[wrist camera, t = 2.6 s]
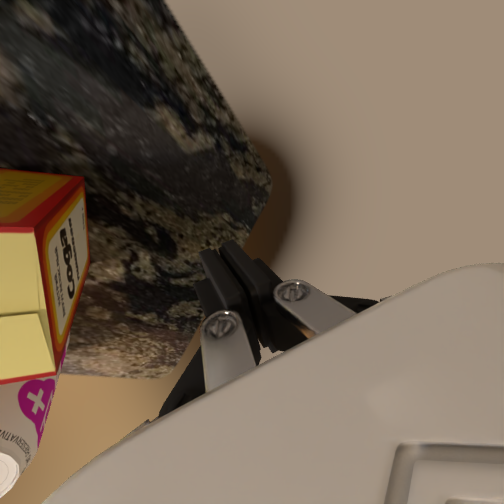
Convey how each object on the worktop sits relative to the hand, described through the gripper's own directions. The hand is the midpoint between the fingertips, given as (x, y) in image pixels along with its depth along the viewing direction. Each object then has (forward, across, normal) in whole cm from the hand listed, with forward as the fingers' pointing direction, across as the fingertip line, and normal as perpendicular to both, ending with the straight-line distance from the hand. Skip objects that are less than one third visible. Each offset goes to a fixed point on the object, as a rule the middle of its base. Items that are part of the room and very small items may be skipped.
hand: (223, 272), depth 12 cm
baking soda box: (+20, +12, 0) cm, 24 cm away
